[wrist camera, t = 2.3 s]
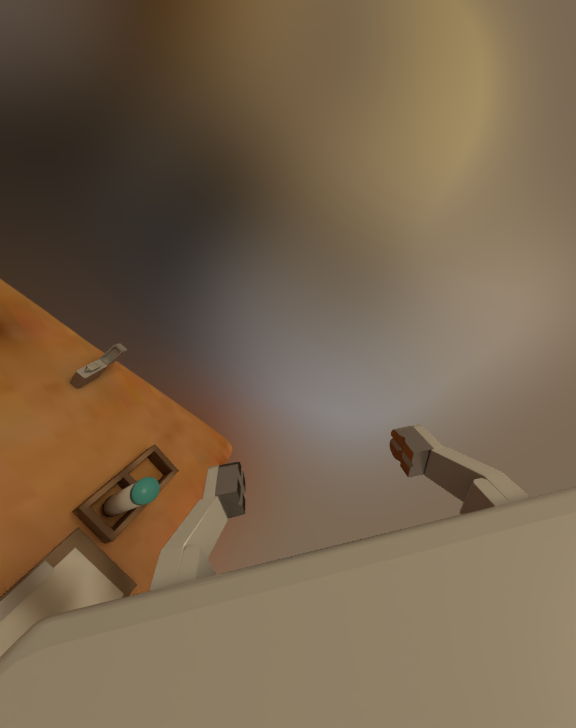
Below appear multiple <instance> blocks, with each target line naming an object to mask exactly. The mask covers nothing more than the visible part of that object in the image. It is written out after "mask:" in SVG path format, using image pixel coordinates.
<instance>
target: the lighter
mask: <svg viewBox="0 0 576 728" xmlns="http://www.w3.org/2000/svg"><path fill="white" fill-rule="evenodd" d="M126 351H127V349H126V348H125V347H124V346H123V345H122V344H116V345H114V346H113V347H111V348H110V349H109V350H108V351H107V352H106V353H105V354H104V355H103V356H102V357H101V358H100V360H99V359H98V360H96V361H94V362H92V363H90V364H88V365H87V366H85V367H83V368H81V369H79V370H77V371H76V373H75V375H74V376H73V378H72V380H71V381H70V383H71V384H72V385H73V386H75V387H76V388H77V389H79V388H81V387H83V386H84V385H86V384H88V383H89V382H91V381H93V380H95V379H96V378H98V377H99V376H100V375H101V373H102V372H103V371H104V369H105V368H106V366H107V365H110V364H113V363H114V362H115V361H116V360H117V359H118V358H119V357H120V356H121V355H122V354H123V353H125V352H126Z"/></svg>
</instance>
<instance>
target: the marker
mask: <svg viewBox="0 0 576 728" xmlns="http://www.w3.org/2000/svg"><path fill="white" fill-rule="evenodd" d="M159 488H160V487H159V483H158V481H157V480H156V479H155V478H152V477H145V478H143V479H141V480H139V481H137V482H136V483H134V484H132V485H130V486H128V487H127V488H125V489H123V490H121V491H119V492H117V493H115V494H113V495H111V496H110V497H109V498H108V499H107V500H106V501H105V503H104V507H103V509H104V512H105V514H107V515H109V516H115V515H118V514H121V513H123V512H126V511H128V510H131V509H134V508H136V507H139V506H141V505H145V504H148V503H150V502H152V501H153V500H154V499H155V498H156V497H157V495H158V493H159Z"/></svg>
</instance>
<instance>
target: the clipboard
mask: <svg viewBox="0 0 576 728" xmlns="http://www.w3.org/2000/svg"><path fill="white" fill-rule="evenodd" d="M136 585H137V584H136V583H135V582H134V581H133V580H132V579H131V578H130V577H129V576H128V575H127V574H126V573H124V572H123V571H122V570H121V569H120V568H119V567H118V566H117V565H116V564H115V563H114V562H113V561H112V560H111V559H110V558H109V557H108V556H107V555H106V554H105V553H104V552H103V551H102V550H101V549H100V548H99V547H98V546H97V545H96V544H95V543H94V542H93V541H92V540H91V539H90V538H89V537H88V536H87V535H85V534H84V533H83V532H82V531H81V530H80V529H79V528H77V529H76V530H75V531H74V532H73V533H71V534H70V535H69V536H68V537H67V538H66V539H65V540H64V541H63V542H61V543H60V544H59V545H58V546H57V547H56V548H55V549H54V550H52V551H51V552H50V553H49V554H48V555H47V556H46V557H45V558H44V559H42V560H41V561H40V562H39V563H38V564H37V565H36V566H35V567H34V568H32V569H31V570H30V571H29V572H28V573H27V574H26V575H25V576H23V577H22V578H21V579H20V580H19V581H18V582H17V583H16V584H15V585H13V586H12V587H11V588H10V589H9V590H8V591H7V592H6V593H5V594H3V595H2V596H1V597H0V657H1V656H2V655H3V654H4V653H5V652H6V651H7V650H8V649H9V648H10V647H11V646H12V645H13V644H14V643H15V642H16V641H17V640H18V639H19V638H20V637H21V636H22V635H23V634H24V633H25V632H26V631H27V630H28V629H29V628H30V627H31V626H32V625H33V624H35V623H36V622H38V621H39V620H41V619H43V618H45V617H48V616H51V615H54V614H58V613H62V612H66V611H70V610H74V609H79V608H83V607H87V606H91V605H95V604H99V603H103V602H107V601H111V600H115V599H119V598H123V597H127V596H129V594H130V593H131V592H132V590H133V589H134V588H135V586H136Z"/></svg>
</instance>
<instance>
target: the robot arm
mask: <svg viewBox="0 0 576 728" xmlns="http://www.w3.org/2000/svg"><path fill="white" fill-rule="evenodd" d="M391 436H392V437H393V438H392V439H391V440H390V450H391V452H392V455H393V456H394V458H395V459H397V460H398V461H400V462H401V464H400V466H401V468H402V469H403V471H404V472H405V473H406V475H407V476H408V477H413V476H418V475H423V474H424V475H425V476H426V477H428V478H429V479H431V480H432V481H434V482H435V483H436V484H438V485H439V486H441V487H442V488H444V489H445V490H446V491H448V492H449V493H451V494H453V495H454V496H455V497H457V498H458V499H460V500H461V501H463V505H462V507H461V509H460V514H461V515H458V516H453V517H449V518H446V519H442V520H437V521H434V522H430V523H425V524H421V525H417V526H413V527H409V528H405V529H400V530H396V531H393V532H389V533H384V534H380V535H376V536H372V537H368V538H364V539H360V540H356V541H352V542H347V543H343V544H339V545H335V546H332V547H327V548H323V549H320V550H315V551H311V552H307V553H303V554H299V555H295V556H291V557H287V558H282V559H278V560H274V561H270V562H266V563H262V564H258V565H254V566H250V567H246V568H242V569H238V570H234V571H230V572H226V573H221V574H217V575H216V572H215V571H214V569H213V567H212V566H211V564H210V562H209V561H208V557H209V555H210V553H211V551H212V549H213V547H214V545H215V544H216V541H217V540H218V538H219V536H220V534H221V532H222V530H223V528H224V526H225V524H226V522H227V520H228V518H232V517H236V516H240V515H243V514H245V498H244V493H245V491H246V489H245V477H244V473H243V471H241V464H240V462H234V463H228V464H223V465H218V466H212V467H209V469H208V471H207V476H206V482H205V488H204V493H203V499H201V500H199V501H198V502H197V504H196V505H195V506H194V508H193V509H192V510H191V512H190V513H189V514H188V516H187V517H186V518H185V520H184V521H183V522H182V524H181V525H180V526H179V528H178V529H177V530H176V532H175V533H174V534H173V536H172V537H171V538H170V540H169V541H168V542H167V544H166V545H165V546H164V548H163V549H162V550H161V552H160V556H159V559H158V562H157V566H156V569H155V573H154V576H153V580H152V583H151V587H150V590H149V591H148V592H144V593H140V594H136V595H132V596H127V597H123V598H119V599H115V600H111V601H107V602H103V603H99V604H95V605H91V606H87V607H83V608H79V609H74V610H70V611H66V612H62V613H58V614H54V615H51V616H48V617H45V618H43V619H41V620H39V621H38V622H36V623H35V624H33V625H32V626H31V627H30V628H29V629H28V630H27V631H26V632H25V633H24V634H23V635H22V636H21V637H20V638H19V639H18V640H17V641H16V642H15V643H14V644H13V645H12V646H11V647H10V648H9V649H8V650H7V651H6V652H5V653H4V654H3V655H2V656H1V657H0V728H576V487H572V488H568V489H564V490H559V491H556V492H551V493H547V494H543V495H539V496H535V497H531V498H530V497H529V496H528V495H527V494H526V493H525V492H524V491H522V489H520V488H519V487H518V486H517V485H516V484H515V483H514V482H513V481H512V480H510V479H509V478H508V477H507V476H506V475H505V474H504V473H503V472H500V471H498V470H496V469H494V468H492V467H490V466H487V465H485V464H483V463H481V462H479V461H477V460H474V459H472V458H470V457H468V456H466V455H464V454H461V453H459V452H457V451H455V450H453V449H450V448H448V447H443V446H442V445H441V444H440V443H439V442H438V441H437V440H436V439H435V438H434V437H433V436H432V435H431V434H430V433H429V432H428V431H427V430H426V429H425V428H424V427H423V426H422V425H420V424H418V425H413V426H408V427H403V428H398V429H394V430H392V432H391Z"/></svg>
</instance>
